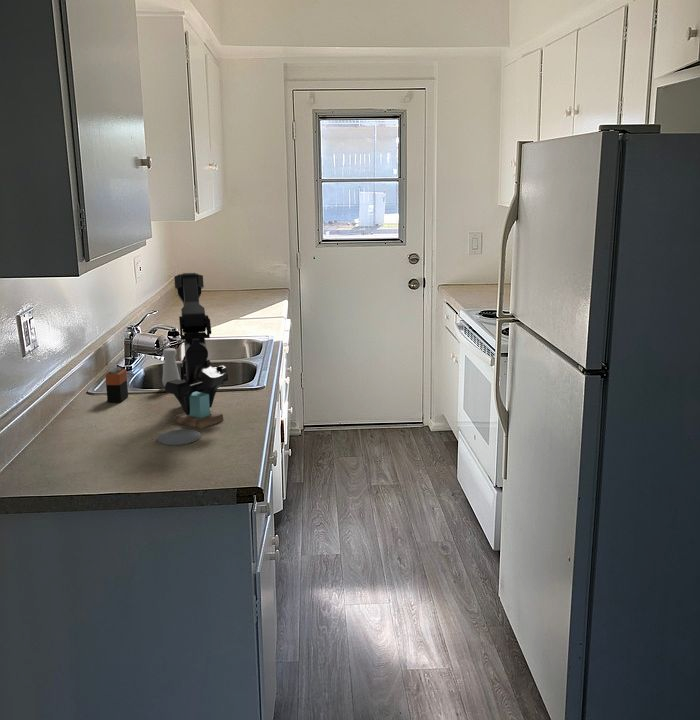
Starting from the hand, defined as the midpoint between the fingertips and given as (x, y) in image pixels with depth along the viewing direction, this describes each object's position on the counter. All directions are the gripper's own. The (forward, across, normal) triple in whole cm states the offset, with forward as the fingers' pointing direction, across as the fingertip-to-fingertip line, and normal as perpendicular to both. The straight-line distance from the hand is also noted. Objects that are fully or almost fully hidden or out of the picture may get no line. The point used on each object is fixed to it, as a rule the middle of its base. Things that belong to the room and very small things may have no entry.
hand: (198, 410), depth 211 cm
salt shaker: (+3, +20, +34) cm, 40 cm away
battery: (+3, +1, +37) cm, 37 cm away
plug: (+3, 0, 0) cm, 3 cm away
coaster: (+3, -13, -6) cm, 15 cm away
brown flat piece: (+3, 0, 0) cm, 3 cm away
